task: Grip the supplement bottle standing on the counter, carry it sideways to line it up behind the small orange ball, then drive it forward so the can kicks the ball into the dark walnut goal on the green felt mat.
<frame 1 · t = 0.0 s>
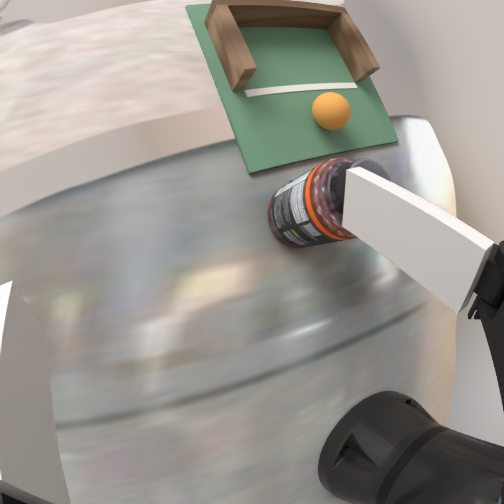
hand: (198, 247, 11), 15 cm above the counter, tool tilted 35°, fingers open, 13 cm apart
goal: (290, 52, 30), resting on pitch mat
pitch mat: (299, 67, 31), on the counter
supplement bottle: (293, 216, 29), on the counter
ball: (321, 118, 31), resting on pitch mat
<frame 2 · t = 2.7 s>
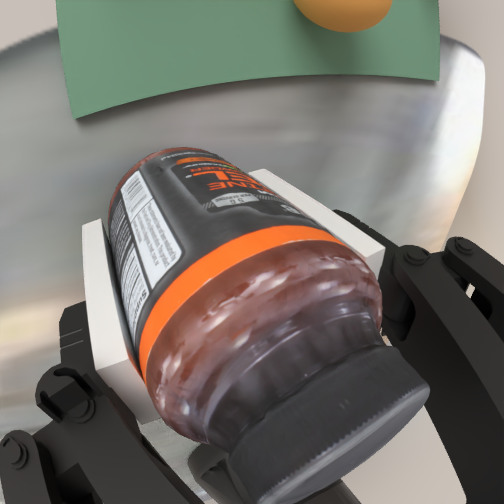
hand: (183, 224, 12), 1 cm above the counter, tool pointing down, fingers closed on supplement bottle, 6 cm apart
supplement bottle: (173, 209, 13), on the counter, touching gripper
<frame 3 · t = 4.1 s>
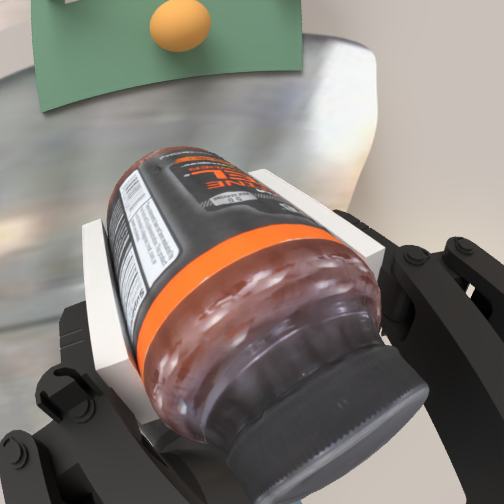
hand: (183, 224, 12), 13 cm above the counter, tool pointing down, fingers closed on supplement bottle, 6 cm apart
supplement bottle: (172, 208, 13), point 11 cm above the counter, touching gripper
ball: (172, 28, 17), resting on pitch mat
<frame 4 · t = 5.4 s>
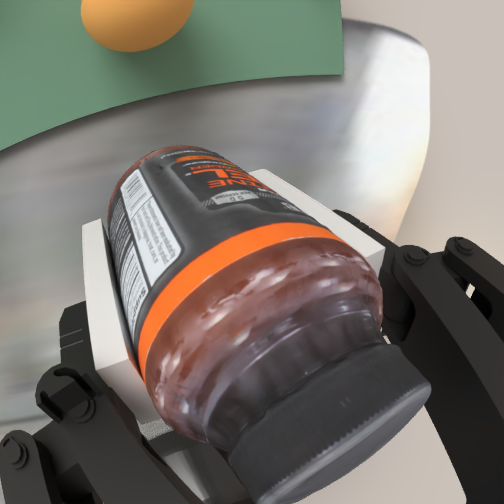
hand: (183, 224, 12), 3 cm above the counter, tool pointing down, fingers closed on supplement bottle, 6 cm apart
supplement bottle: (173, 208, 13), point 2 cm above the counter, touching gripper
ball: (130, 12, 9), resting on pitch mat
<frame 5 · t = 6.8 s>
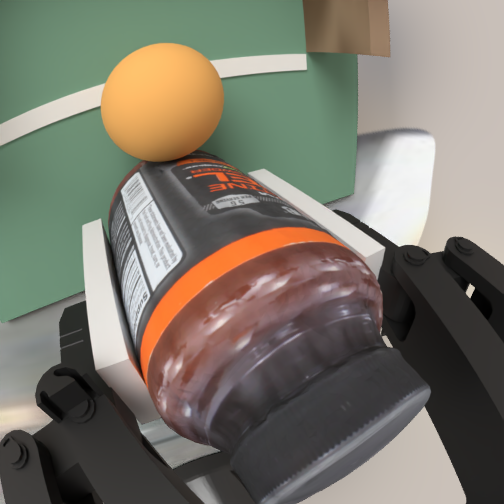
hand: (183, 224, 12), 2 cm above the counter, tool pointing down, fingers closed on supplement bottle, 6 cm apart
pitch mat: (142, 12, 9), on the counter
supplement bottle: (173, 210, 13), point 1 cm above the counter, touching ball, gripper
ball: (169, 158, 10), point 3 cm above the counter, tilted 91°, touching supplement bottle, pitch mat
when the fingers open (2 cm above the counter, at t = 8.3 s): supplement bottle stays where it is, resting on pitch mat.
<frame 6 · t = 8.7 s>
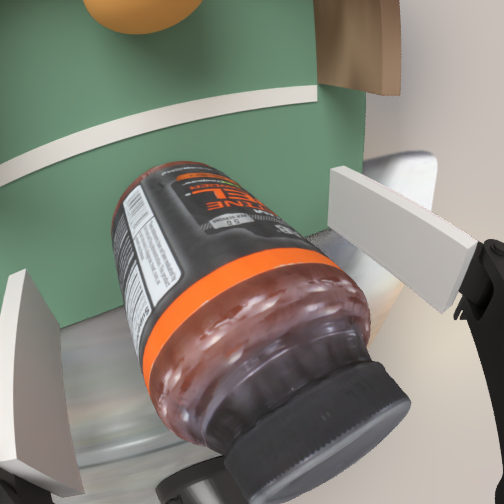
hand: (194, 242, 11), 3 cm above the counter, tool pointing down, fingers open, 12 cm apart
pitch mat: (155, 44, 9), on the counter
supplement bottle: (174, 220, 14), resting on pitch mat
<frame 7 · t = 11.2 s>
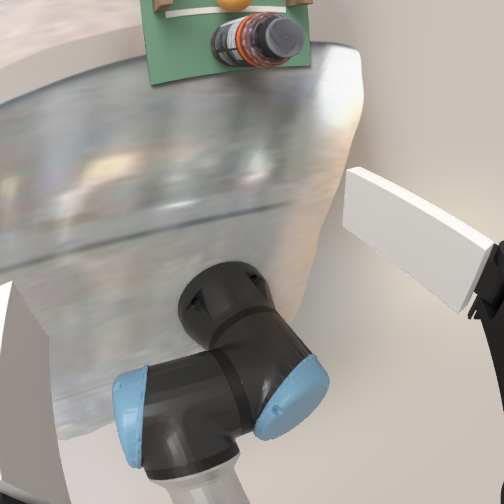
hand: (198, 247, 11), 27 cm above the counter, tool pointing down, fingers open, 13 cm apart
supplement bottle: (232, 44, 30), resting on pitch mat
ball: (238, 1, 24), point 4 cm above the counter, tilted 147°, touching pitch mat
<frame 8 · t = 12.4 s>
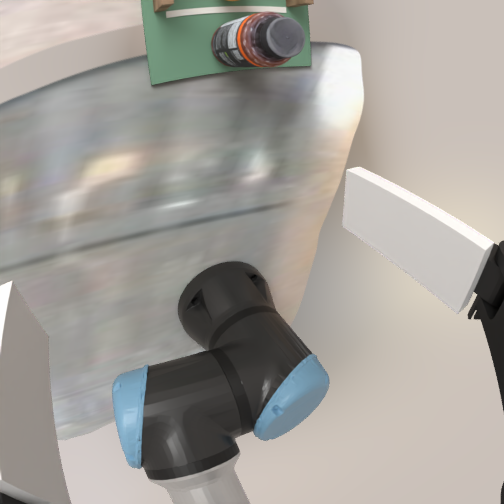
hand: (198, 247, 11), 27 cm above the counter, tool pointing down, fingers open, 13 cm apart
supplement bottle: (232, 44, 30), resting on pitch mat
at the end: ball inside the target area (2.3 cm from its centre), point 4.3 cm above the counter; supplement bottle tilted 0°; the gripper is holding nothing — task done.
